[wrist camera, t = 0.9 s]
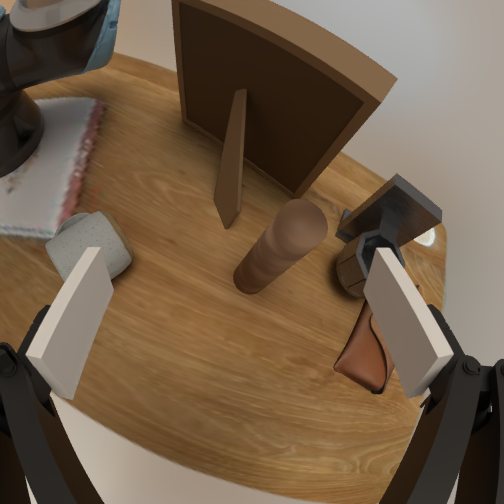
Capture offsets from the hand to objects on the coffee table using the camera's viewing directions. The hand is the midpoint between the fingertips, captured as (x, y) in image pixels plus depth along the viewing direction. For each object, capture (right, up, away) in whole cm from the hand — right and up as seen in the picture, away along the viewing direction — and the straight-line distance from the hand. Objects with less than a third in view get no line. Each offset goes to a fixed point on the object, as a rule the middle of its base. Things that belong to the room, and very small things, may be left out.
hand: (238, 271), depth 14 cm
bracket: (+15, 0, +29) cm, 32 cm away
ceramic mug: (-19, 0, +19) cm, 27 cm away
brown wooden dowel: (0, -2, +23) cm, 23 cm away
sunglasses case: (+18, -10, +26) cm, 34 cm away
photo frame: (-3, +12, +28) cm, 31 cm away
